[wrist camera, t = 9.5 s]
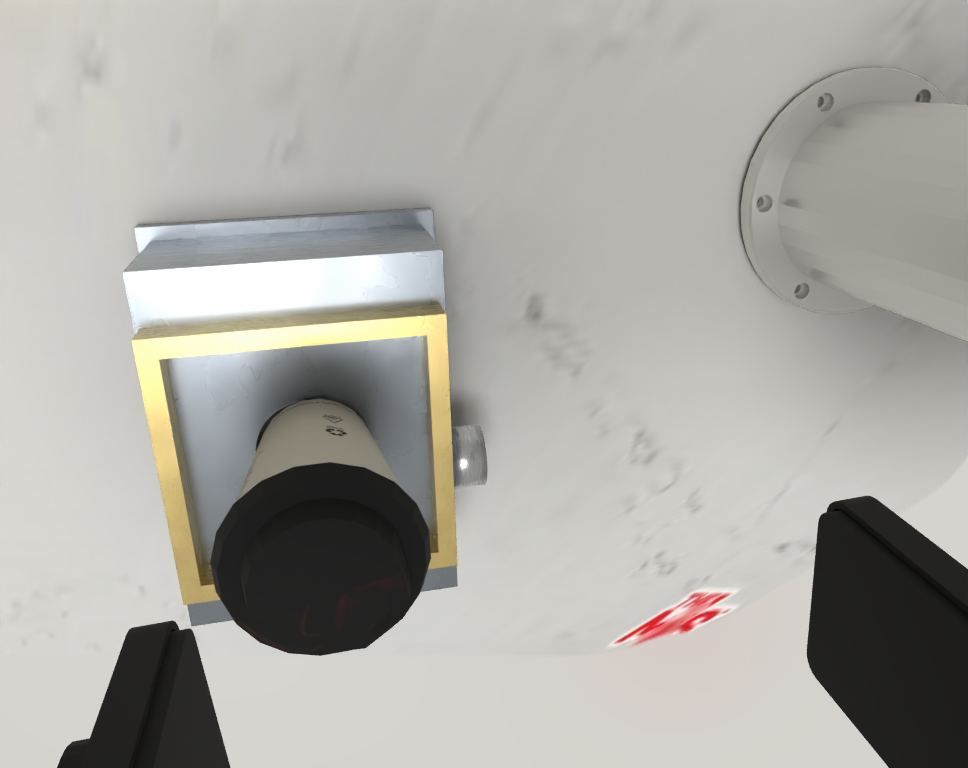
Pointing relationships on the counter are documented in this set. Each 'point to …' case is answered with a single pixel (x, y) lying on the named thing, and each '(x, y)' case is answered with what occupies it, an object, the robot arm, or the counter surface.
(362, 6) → the counter surface
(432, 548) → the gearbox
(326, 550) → the coffee cup
